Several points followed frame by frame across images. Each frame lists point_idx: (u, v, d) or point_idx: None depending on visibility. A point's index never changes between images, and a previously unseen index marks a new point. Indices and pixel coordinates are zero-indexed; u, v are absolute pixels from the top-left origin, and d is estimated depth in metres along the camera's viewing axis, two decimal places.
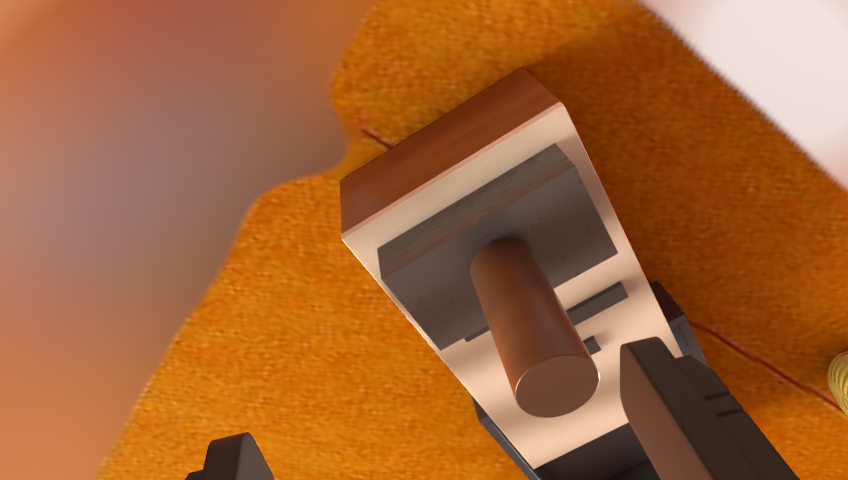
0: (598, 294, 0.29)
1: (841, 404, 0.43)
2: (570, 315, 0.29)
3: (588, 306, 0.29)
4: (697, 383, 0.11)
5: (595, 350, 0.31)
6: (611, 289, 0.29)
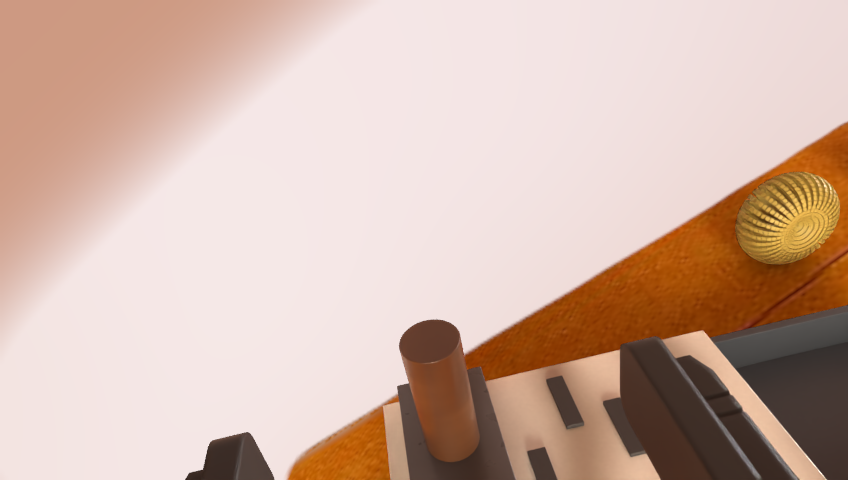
0: None
1: (808, 245, 0.46)
2: (566, 416, 0.32)
3: (560, 403, 0.33)
4: (698, 383, 0.11)
5: (618, 401, 0.33)
6: (549, 387, 0.34)
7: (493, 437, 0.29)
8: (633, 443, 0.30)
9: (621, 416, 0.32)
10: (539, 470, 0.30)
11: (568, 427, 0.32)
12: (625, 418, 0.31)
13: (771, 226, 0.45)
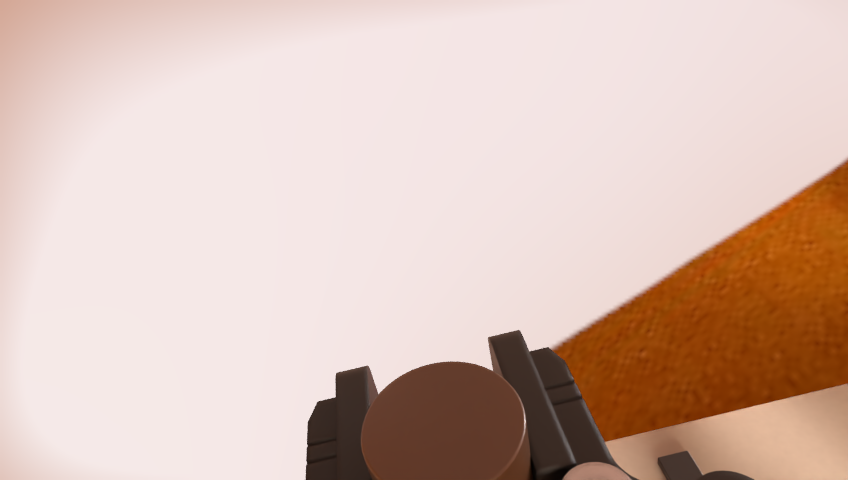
0: None
1: None
2: None
3: None
4: (548, 372, 0.12)
5: None
6: (666, 474, 0.18)
7: None
8: None
9: None
10: None
11: None
12: None
13: None
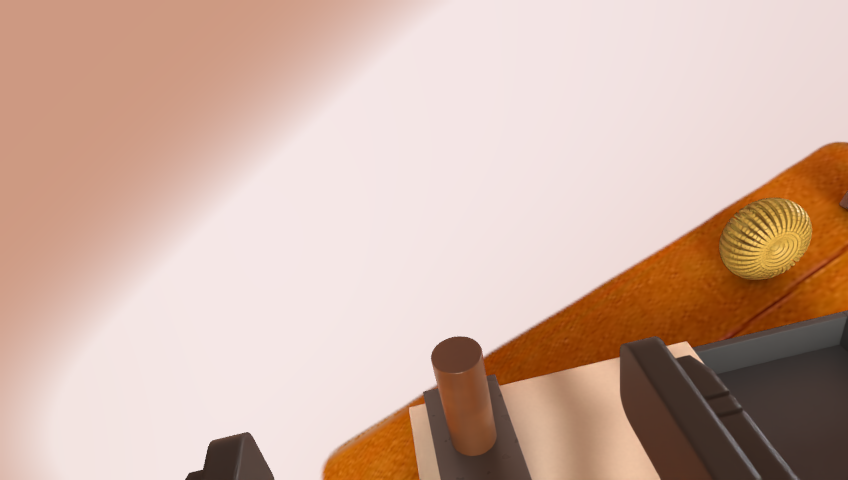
0: None
1: (783, 263, 0.52)
2: None
3: None
4: (697, 382, 0.11)
5: None
6: None
7: (508, 435, 0.35)
8: None
9: None
10: None
11: None
12: None
13: (750, 247, 0.50)
